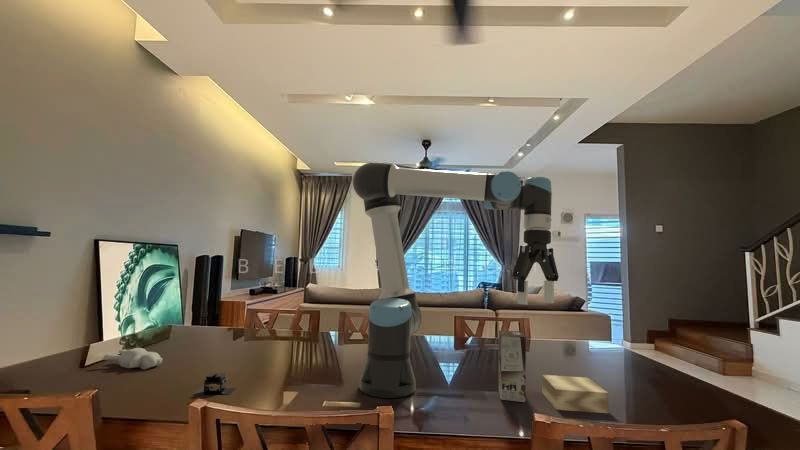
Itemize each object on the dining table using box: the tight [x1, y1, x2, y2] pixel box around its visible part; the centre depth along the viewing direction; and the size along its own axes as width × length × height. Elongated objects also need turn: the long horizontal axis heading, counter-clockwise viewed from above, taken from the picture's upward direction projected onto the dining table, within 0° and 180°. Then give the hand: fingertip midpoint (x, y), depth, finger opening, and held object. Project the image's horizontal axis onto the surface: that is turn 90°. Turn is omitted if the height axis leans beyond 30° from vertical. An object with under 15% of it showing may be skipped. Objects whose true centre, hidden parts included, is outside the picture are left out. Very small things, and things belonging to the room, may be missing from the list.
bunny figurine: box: [102, 347, 163, 370], centre depth 111 cm, size 10×5×15 cm
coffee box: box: [498, 330, 527, 403], centre depth 98 cm, size 9×6×16 cm
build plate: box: [190, 372, 237, 396], centre depth 93 cm, size 12×7×5 cm, turn 95°
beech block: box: [541, 374, 610, 414], centre depth 94 cm, size 12×12×5 cm
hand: (536, 303), depth 106 cm, fingers open, 13 cm apart
